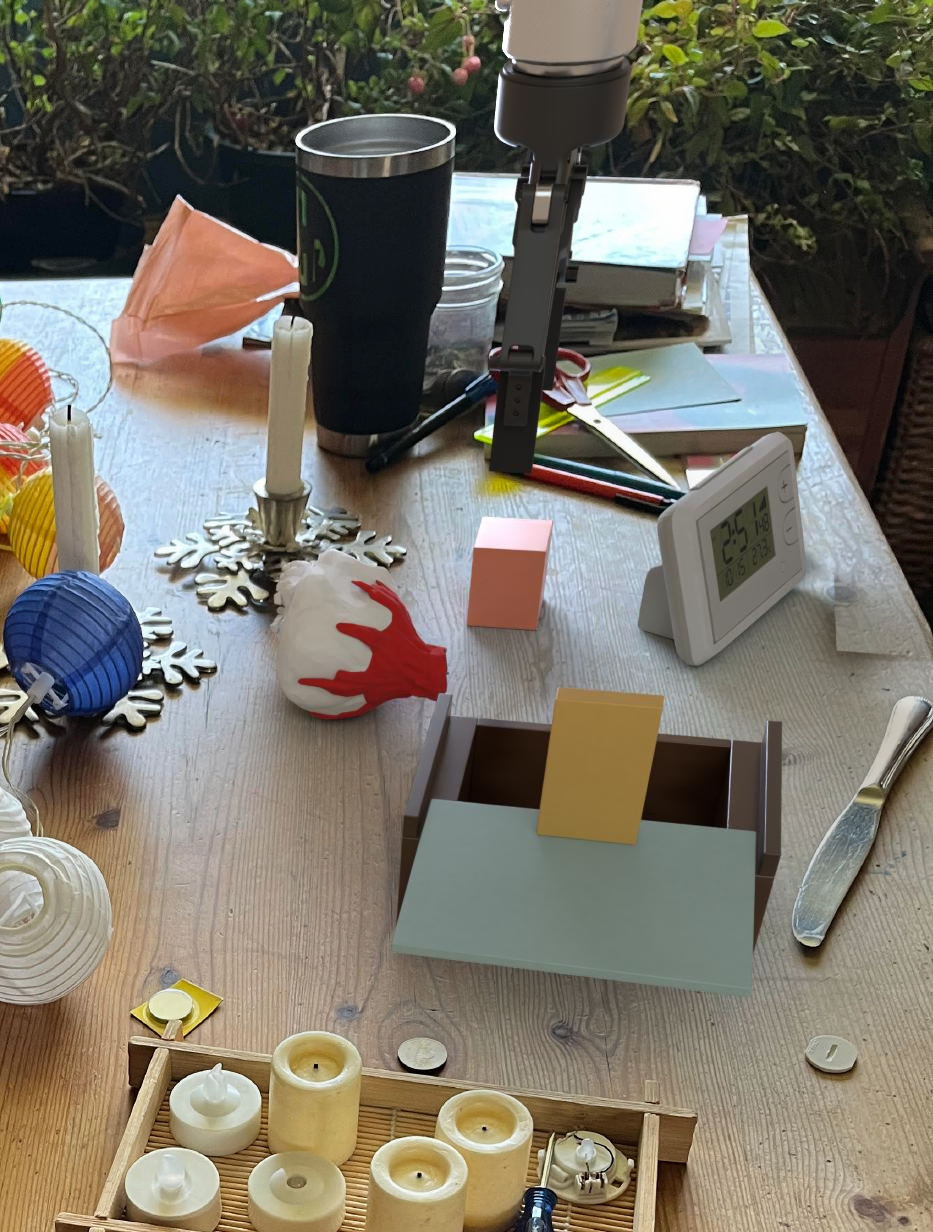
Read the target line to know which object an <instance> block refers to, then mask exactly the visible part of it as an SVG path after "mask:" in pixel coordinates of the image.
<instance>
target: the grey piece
mask: <svg viewBox="0 0 933 1232" xmlns="http://www.w3.org/2000/svg"><path fill="white" fill-rule="evenodd" d="M664 701H665V696H664V695H662V694H650V693H649V694H648V693H640V692H639V693H638V692H637V693H636V692H625V691H611V690H600V689H589V688H577V687H576V688H575V687H563V686H558V687H557V689H556V693H555V699H554V705H553V713H552V718H551V719H552V720H551V724H552V726H551V733H550V740H549V747H548V754H547V761H546V768H545V775H544V782H543V789H542V796H541V803H540V810H537V809H527V808H517V807H507V806H497V805H487V804H477V803H468V802H458V801H448V800H438V799H431V801H430V805H429V808H428V812H427V816H426V819H425V823H424V826H423V830H422V834H421V837H420V841H419V845H418V848H417V852H416V856H415V859H414V863H413V867H412V870H411V874H410V878H409V881H408V885H407V889H406V892H405V896H404V900H403V903H402V907H401V911H400V914H399V918H398V921H397V925H396V924H395V929H394V933H393V936H392V940H391V946H390V952H391V953H395V954H402V955H411V956H419V957H425V958H426V957H427V958H435V959H442V960H450V961H457V962H466V963H474V964H481V965H489V966H496V967H506V968H513V969H520V970H528V971H537V972H545V973H552V974H559V975H560V974H561V975H568V976H574V977H575V976H576V977H583V978H590V979H591V978H592V979H599V980H607V981H615V982H622V983H631V984H638V985H646V986H654V987H662V988H669V989H676V990H677V989H678V990H686V991H693V992H700V993H709V994H715V995H716V994H717V995H723V996H725V995H726V996H733V997H741V998H747V999H748V998H750V997H751V994H752V990H753V965H754V953H753V933H754V897H755V861H756V832H755V831H745V830H735V829H725V828H715V827H705V826H695V825H685V824H676V823H666V822H656V821H646V820H641V817H642V812H643V807H644V801H645V796H646V791H647V786H648V781H649V776H650V771H651V766H652V761H653V756H654V751H655V746H656V741H657V736H658V733H659V730H660V725H661V720H662V715H663V710H664Z"/></svg>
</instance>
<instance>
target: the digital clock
mask: <svg viewBox="0 0 933 1232" xmlns="http://www.w3.org/2000/svg"><path fill="white" fill-rule="evenodd" d="M796 469H797V468H796V461H795V453H794V447H793V442H792V440H791V439H790V438H789V437H787V436H786V435H785V434H783V433H782V432H780V431H776V432H772V433H768V434H767V435H763V436H762V437H761V438H760V439H757V441H755V442H753V443H752V444H750V445H748V446H746V447H744V448H743V449H742V450H740V451H738V453H736V454H734V455H733V456H732V457H730V459H728V460H727V461H725V462H724V463H723V464H722V465H720V466H719V467H717V468H716V469H715V470H713V471H712V472H711V473H710V474H708V475H707V476H706V477H704V478H703V479H701V480H700V481H698V482H697V483H696V484H695V485H694V486H692V487H691V488H689V491H688V492H687V493H686V494H684V495H682V496H681V497H680V498H678V499H677V500H676V501H675V502H673V503H672V504H671V505H670V506H668V507H667V508H666V509H665V510H664V511H663V512H662V513H660V515H659V516H658V519H657V522H656V530H657V532H656V533H657V538H658V539H657V540H658V545H659V551H660V558H661V560H660V561H658V562H657V563H656V564H654V565H653V566H652V567H651V568H649V570H648V571H647V574H646V576H645V580H644V585H643V589H642V595H641V602H640V607H639V613H638V619H637V627H638V628H639V630H643V631H645V632H646V633H647V632H648V633H650V634H654V635H657V636H660V637H664V638H666V639H667V638H668V639H671V640H674V645H675V651H676V653H677V656H678V657H679V659H680V660H681V661H682V662H683V663H684V664H686V665H688V666H697V667H699V666H701V665H703V664H704V663H706V662H708V661H709V660H710V659H712V658H713V657H714V656H716V655H718V654H719V653H720V652H721V651H723V650H724V649H725V648H726V647H728V646H729V645H730V644H731V643H732V642H733V641H734V640H736V639H737V638H738V637H739V636H740V635H741V634H742V633H744V632H745V630H747V629H748V628H749V627H751V625H753V624H754V623H755V622H756V621H757V620H759V619H760V618H761V617H762V616H763V615H765V613H767V612H768V611H769V610H770V609H771V608H772V607H773V606H775V605H776V604H777V603H778V602H780V600H782V599H783V598H784V597H785V596H786V595H788V593H790V591H792V590H793V589H794V588H795V587H796V586H797V585H798V584H800V582H801V581H802V580H803V579H804V578H805V576H806V573H807V558H806V548H805V541H804V531H803V522H802V513H801V506H800V497H799V496H800V495H799V487H798V479H797V470H796Z"/></svg>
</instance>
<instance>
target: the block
mask: <svg viewBox="0 0 933 1232" xmlns="http://www.w3.org/2000/svg"><path fill="white" fill-rule="evenodd" d="M553 526H554V520H553V519H539V518H538V519H537V518H536V519H535V518H517V517H501V516H499V517H498V516H483V517H482V519H481V522H480V526H479V528H478V531H477V535H476V539H475V541H474V546H473V551H472V563H471V573H470V584H469V594H468V605H467V617H466V626H468V627H469V626H470V627H483V628H495V629H497V628H498V629H510V630H512V629H513V630H525V631H537V628H538V625H539V619H540V616H541V612H542V611H541V610H542V606H543V603H544V602H543V601H544V597H545V588H546V581H547V574H548V566H549V558H550V550H551V543H552V535H553V528H554V527H553Z"/></svg>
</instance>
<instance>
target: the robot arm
mask: <svg viewBox="0 0 933 1232" xmlns="http://www.w3.org/2000/svg"><path fill="white" fill-rule="evenodd" d="M643 2H644V0H495V8H496V9H497V10H498V11H501V12H507V11H508V12H509V14H508V15H507V17H506V19H505V21H504V29H503V30H504V31H503V38H502V39H503V41H502V51H503V52H504V54H505V55H506V56H507V58H509V60H508V61H506V62H505V63H504V65H503V67H501V69H500V70H499V72H498V73H499V74H498V84H497V92H496V93H497V95H496V105H495V115H494V126H493V127H494V132H495V136H496V137H497V138H498V139H499V141H501V142H503V143H505V144H507V145H509V146H511V147H514V148H521V147H523V148H525V149H528V150H529V151H530V152H531V153H532V160H531V164H522V166H521V170H520V176H518V177H517V180H516V186H515V192H514V209H515V211H516V213H515V220H514V226H513V230H512V231H513V232H512V237H511V238H512V239H511V243H512V244H511V248H512V251H511V252H512V255H513V261H512V266H511V267H512V268H511V275H510V282H509V290H508V296H507V304H506V310H505V311H506V312H505V317H504V318H505V319H504V326H503V332H502V334H503V335H502V340H501V346H500V347H501V348H500V353H499V354H498V355H489V359H488V371H499V372H498V382H497V391H496V399H495V400H496V401H495V410H494V420H493V428H492V436H491V438H492V439H491V447H490V457H489V465H488V472H494V473H495V472H497V473H516V474H532V473H533V467H534V459H535V452H536V445H537V436H538V429H539V428H538V427H539V420H540V412H541V404H542V396H543V391H550V392H553V390H554V385H555V378H556V372H557V371H556V369H557V363H558V362H557V361H558V357H559V356H558V354H559V347H560V339H561V333H562V326H563V325H562V324H563V317H564V308H565V302H566V296H567V295H566V294H567V287H558V286H559V285H577V283H578V277H579V271H580V265H569V264H570V261H571V260H572V259H573V252H574V251H573V249H572V244H573V235H574V225H575V224H576V223H577V222H578V220H579V216H580V215H579V214H580V210H581V207H582V201H583V196H584V195H585V190H586V184H587V178H588V171H589V164H581V159H582V158H581V157H582V149H583V147H586V148H593V147H597V146H600V145H603V144H605V143H608V142H610V141H612V140H614V139H615V138H616V137H618V135H619V134H620V133H621V132H622V130H623V128H624V125H625V119H626V111H627V105H628V99H629V91H630V85H631V78H632V73H633V72H632V71H633V67H632V65H631V64H630V62H629V60H628V59H627V57H625V56H628V55H629V54H630V53H631V52H632V51H633V50H634V49H635V48H636V47H637V44H638V43H637V42H638V35H639V31H640V30H639V29H640V23H641V16H642V10H643ZM513 347H517V348H513Z"/></svg>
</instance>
